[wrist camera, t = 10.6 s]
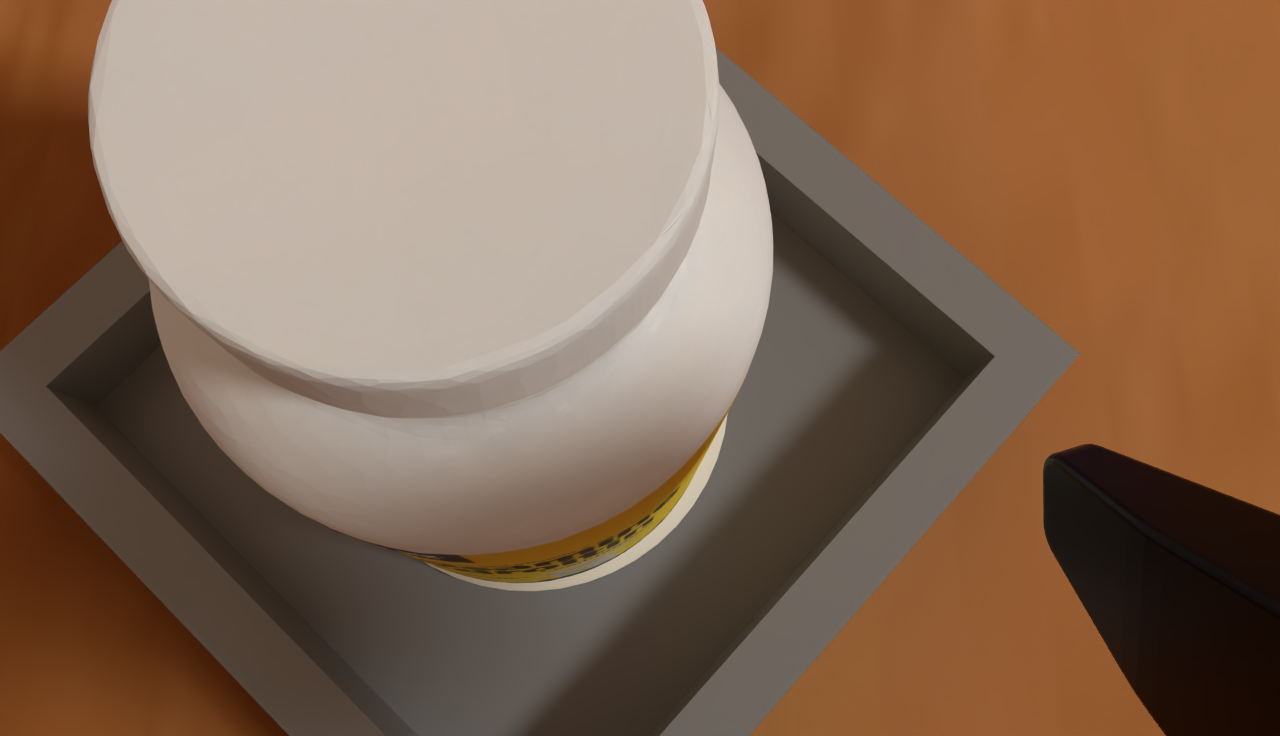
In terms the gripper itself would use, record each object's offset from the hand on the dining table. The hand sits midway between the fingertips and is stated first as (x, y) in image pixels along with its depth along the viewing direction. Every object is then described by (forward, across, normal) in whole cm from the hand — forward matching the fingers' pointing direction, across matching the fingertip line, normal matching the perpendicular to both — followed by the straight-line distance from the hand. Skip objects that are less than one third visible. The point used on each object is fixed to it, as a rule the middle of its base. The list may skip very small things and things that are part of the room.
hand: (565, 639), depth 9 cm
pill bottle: (+10, 0, +4) cm, 10 cm away
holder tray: (+10, 0, +4) cm, 11 cm away
